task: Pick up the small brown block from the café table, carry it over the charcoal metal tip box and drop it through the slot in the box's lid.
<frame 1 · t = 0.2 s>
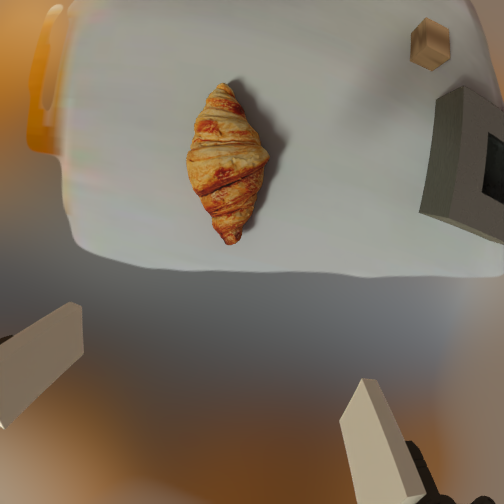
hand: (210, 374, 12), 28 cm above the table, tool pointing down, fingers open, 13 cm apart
brown block: (421, 51, 31), on the table
croissant: (230, 161, 37), on the table
tip box: (469, 171, 34), on the table
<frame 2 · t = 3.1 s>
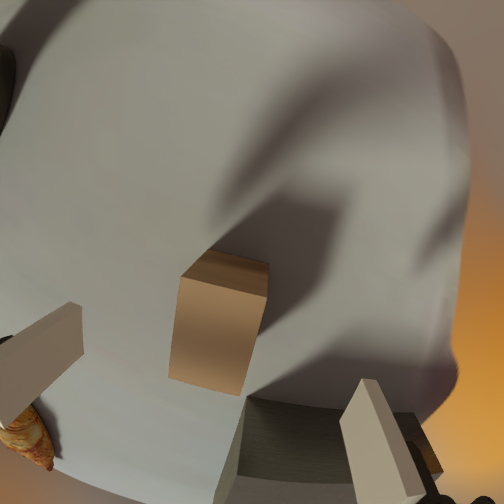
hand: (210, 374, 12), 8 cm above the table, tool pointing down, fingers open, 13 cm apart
brown block: (228, 298, 19), on the table
croissant: (28, 412, 26), on the table
tip box: (305, 467, 23), on the table
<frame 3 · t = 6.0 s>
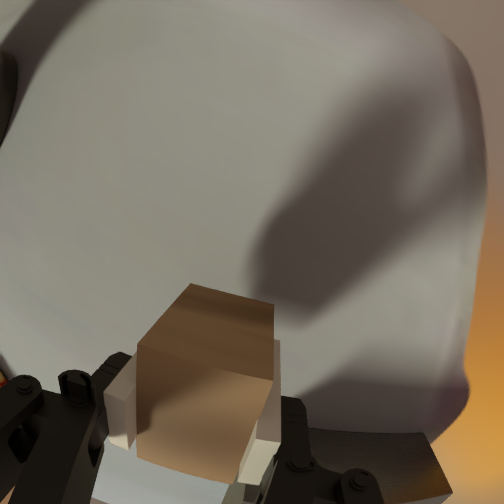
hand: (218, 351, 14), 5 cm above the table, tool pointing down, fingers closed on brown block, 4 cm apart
brown block: (219, 347, 14), point 4 cm above the table, touching gripper
tip box: (311, 486, 21), on the table
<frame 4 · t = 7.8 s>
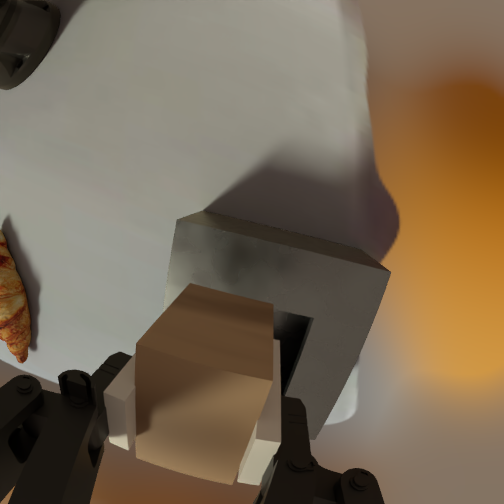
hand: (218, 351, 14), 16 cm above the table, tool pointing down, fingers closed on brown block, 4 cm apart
brown block: (219, 347, 14), point 15 cm above the table, touching gripper
croissant: (15, 294, 33), on the table
tip box: (261, 314, 30), on the table
when the fingers open (10 cm above the table, at t = 9.7 s): brown block drops 9 cm, resting on tip box.
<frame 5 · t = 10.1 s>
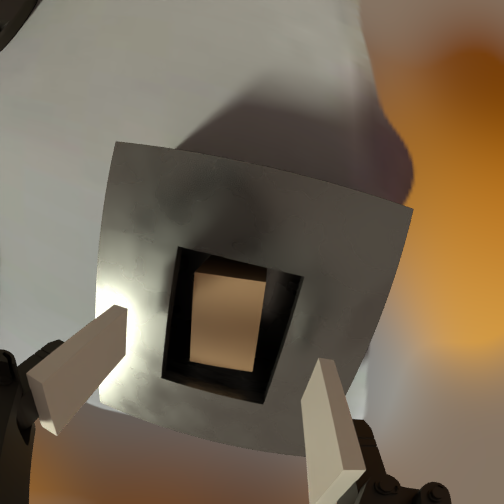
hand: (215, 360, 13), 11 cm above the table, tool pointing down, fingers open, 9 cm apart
brown block: (237, 292, 23), point 1 cm above the table, touching tip box
tip box: (240, 289, 23), on the table
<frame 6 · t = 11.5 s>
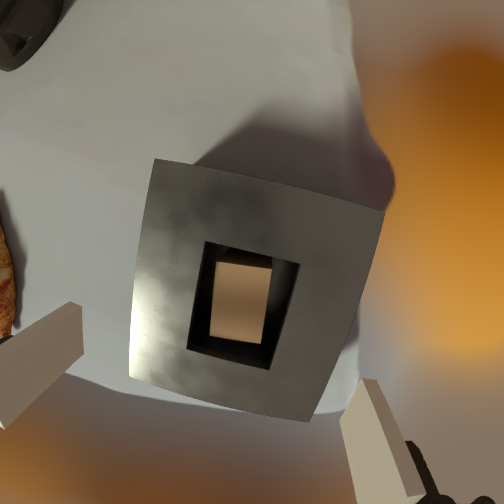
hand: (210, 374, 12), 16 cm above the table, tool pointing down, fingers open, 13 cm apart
brown block: (247, 281, 27), point 1 cm above the table, touching tip box
croissant: (3, 269, 31), on the table
tip box: (249, 279, 28), on the table
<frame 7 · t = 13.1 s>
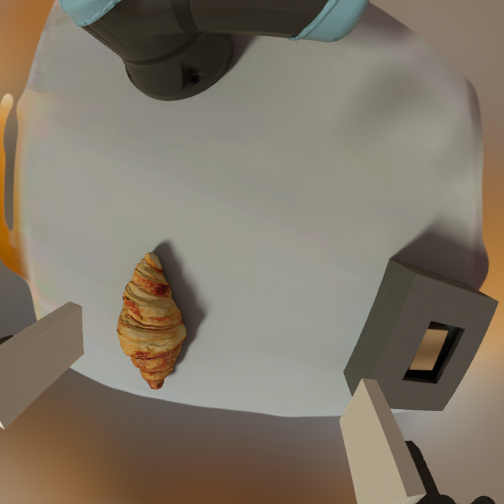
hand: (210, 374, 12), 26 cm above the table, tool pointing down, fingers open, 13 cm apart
brown block: (411, 331, 37), point 1 cm above the table, touching tip box
croissant: (158, 320, 40), on the table
tip box: (411, 329, 37), on the table
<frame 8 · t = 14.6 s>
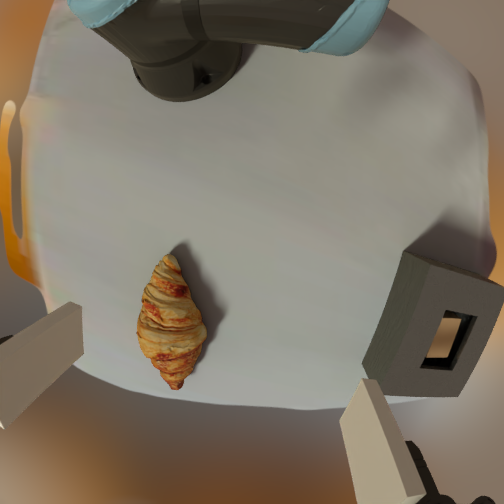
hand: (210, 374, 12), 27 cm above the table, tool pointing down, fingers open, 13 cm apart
brown block: (426, 321, 37), point 1 cm above the table, touching tip box
croissant: (177, 321, 41), on the table
tip box: (425, 319, 38), on the table
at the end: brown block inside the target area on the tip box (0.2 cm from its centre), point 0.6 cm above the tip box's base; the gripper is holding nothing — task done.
